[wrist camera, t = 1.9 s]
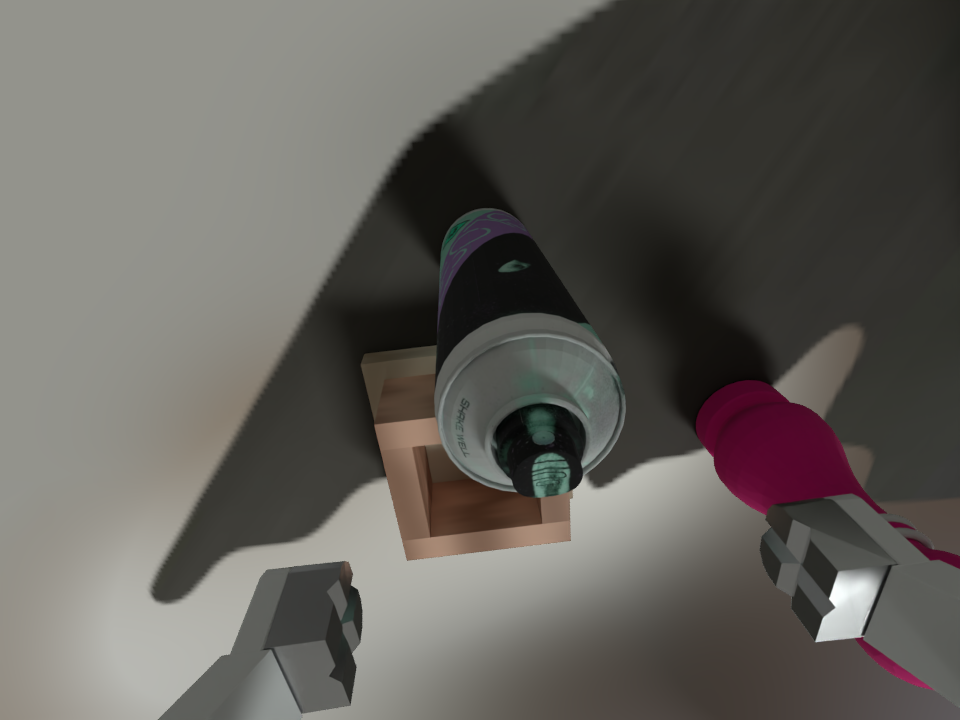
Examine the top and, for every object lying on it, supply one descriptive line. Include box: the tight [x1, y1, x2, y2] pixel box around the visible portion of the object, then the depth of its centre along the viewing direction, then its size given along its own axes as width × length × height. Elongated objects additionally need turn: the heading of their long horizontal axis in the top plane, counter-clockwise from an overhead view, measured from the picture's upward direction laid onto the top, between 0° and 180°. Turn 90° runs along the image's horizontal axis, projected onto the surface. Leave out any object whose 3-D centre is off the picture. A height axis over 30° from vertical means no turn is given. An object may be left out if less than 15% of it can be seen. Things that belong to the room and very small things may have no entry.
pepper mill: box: [696, 380, 960, 690], centre depth 27 cm, size 7×7×20 cm
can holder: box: [361, 345, 573, 561], centre depth 32 cm, size 13×13×6 cm
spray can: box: [434, 208, 626, 498], centre depth 20 cm, size 6×6×20 cm
